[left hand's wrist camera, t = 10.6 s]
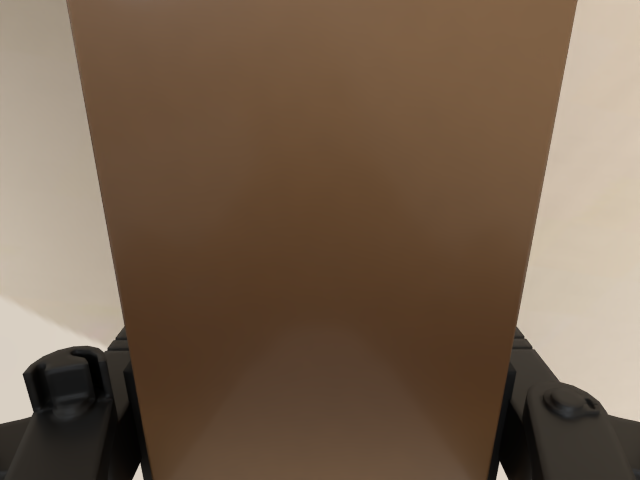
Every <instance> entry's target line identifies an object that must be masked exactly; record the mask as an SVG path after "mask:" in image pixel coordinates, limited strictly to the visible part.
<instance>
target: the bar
mask: <svg viewBox="0 0 640 480" xmlns="http://www.w3.org/2000/svg"><path fill="white" fill-rule="evenodd" d="M66 1H67V7H68V12H69V18H70V24H71V29H72V35H73V40H74V46H75V51H76V57H77V63H78V68H79V74H80V79H81V85H82V90H83V96H84V102H85V107H86V113H87V118H88V124H89V129H90V135H91V141H92V146H93V152H94V157H95V163H96V168H97V174H98V180H99V185H100V191H101V196H102V202H103V208H104V213H105V219H106V224H107V230H108V235H109V241H110V247H111V252H112V258H113V263H114V269H115V274H116V280H117V286H118V291H119V297H120V302H121V308H122V313H123V319H124V325H125V330H126V336H127V341H128V347H129V352H130V358H131V364H132V369H133V375H134V380H135V386H136V392H137V397H138V403H139V408H140V414H141V419H142V425H143V431H144V436H145V442H146V447H147V453H148V458H149V464H150V470H151V475H152V480H487V479H488V474H489V469H490V463H491V458H492V453H493V447H494V442H495V437H496V431H497V426H498V421H499V415H500V410H501V405H502V399H503V394H504V389H505V383H506V378H507V373H508V367H509V362H510V357H511V351H512V346H513V341H514V335H515V330H516V325H517V319H518V314H519V309H520V303H521V298H522V293H523V287H524V282H525V277H526V271H527V266H528V261H529V255H530V250H531V245H532V240H533V234H534V229H535V224H536V218H537V213H538V208H539V202H540V197H541V192H542V186H543V181H544V176H545V170H546V165H547V160H548V154H549V149H550V144H551V138H552V133H553V128H554V122H555V117H556V112H557V106H558V101H559V96H560V90H561V85H562V80H563V74H564V69H565V64H566V58H567V53H568V48H569V42H570V37H571V32H572V26H573V21H574V16H575V10H576V5H577V0H66Z"/></svg>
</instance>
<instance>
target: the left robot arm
mask: <svg viewBox="0 0 640 480" xmlns="http://www.w3.org/2000/svg"><path fill="white" fill-rule="evenodd" d="M23 377H24V380H25V384H26V387H27V391H28V394H29V398H30V401H31V404H32V408H33V411H34V413H33V415H32V417H29V418H25V419H21V420H17V421H12V422H7V423H3V424H0V480H132V479H133V477H134V475H135V472H136V470H137V468H138V466H139V464H140V463H141V468H142V473H143V479H144V480H152V475H151V470H150V464H149V458H148V453H147V447H146V442H145V436H144V431H143V425H142V419H141V414H140V408H139V403H138V397H137V392H136V386H135V380H134V375H133V369H132V364H131V358H130V352H129V347H128V341H127V336H126V330H125V326H124V328H123V329H122V330H121V332H120V333H119V334H118V336H117V337H116V340H114V341H113V342H112V343H111V345H110V346H109V347H108V350H107V351H105V352H103V351H101V350H100V349H99V348H95V347H91V346H75V347H70V348H65V349H62V350H57V351H55V352H53V353H50V354H48V355H46V356H43V357H42V358H40V359H39V360H37V361H36V362H34V363H33V364H31V365H30V366H29V367H28V368H27V370H26V371H25V372H24V373H23ZM499 461H500V462H501V465H502V467H503V469H504V471H505V473H506V475H507V477H508V480H640V422H637V421H632V420H628V419H623V418H618V417H615V416H611V415H608V414H607V412H606V410H605V409H604V408H603V406H602V405H601V403H600V402H599V401H598V400H596V399H595V398H594V397H592V396H591V395H590V394H589V393H587V392H585V391H583V390H581V389H579V388H577V387H575V386H572V385H569V384H565V383H561V382H560V381H559V380H558V379H557V378H556V376H555V375H554V374H553V373H552V371H551V370H550V369H549V367H548V366H547V365H546V364H545V362H544V361H543V360H542V358H541V357H540V356H539V355H538V353H537V352H536V351H535V349H532V346H531V344H530V343H529V342H528V341H527V339H524V335H523V334H522V333H521V332H520V330H519V329H518V328H517V326H516V330H515V335H514V341H513V346H512V351H511V357H510V362H509V367H508V373H507V378H506V383H505V389H504V394H503V399H502V405H501V410H500V415H499V421H498V426H497V431H496V437H495V442H494V447H493V453H492V458H491V463H490V469H489V474H488V479H487V480H496V476H497V472H498V466H499Z"/></svg>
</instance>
